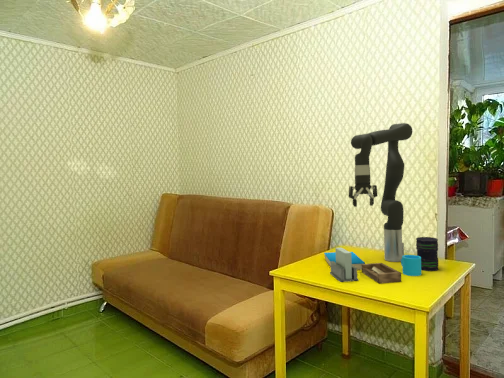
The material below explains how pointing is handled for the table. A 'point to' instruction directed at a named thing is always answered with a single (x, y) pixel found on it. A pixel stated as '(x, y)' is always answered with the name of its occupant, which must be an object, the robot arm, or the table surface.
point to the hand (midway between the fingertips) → (363, 206)
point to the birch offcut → (377, 270)
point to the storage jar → (427, 253)
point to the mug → (411, 265)
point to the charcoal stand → (342, 272)
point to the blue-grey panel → (344, 261)
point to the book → (355, 259)
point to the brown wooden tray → (385, 277)
